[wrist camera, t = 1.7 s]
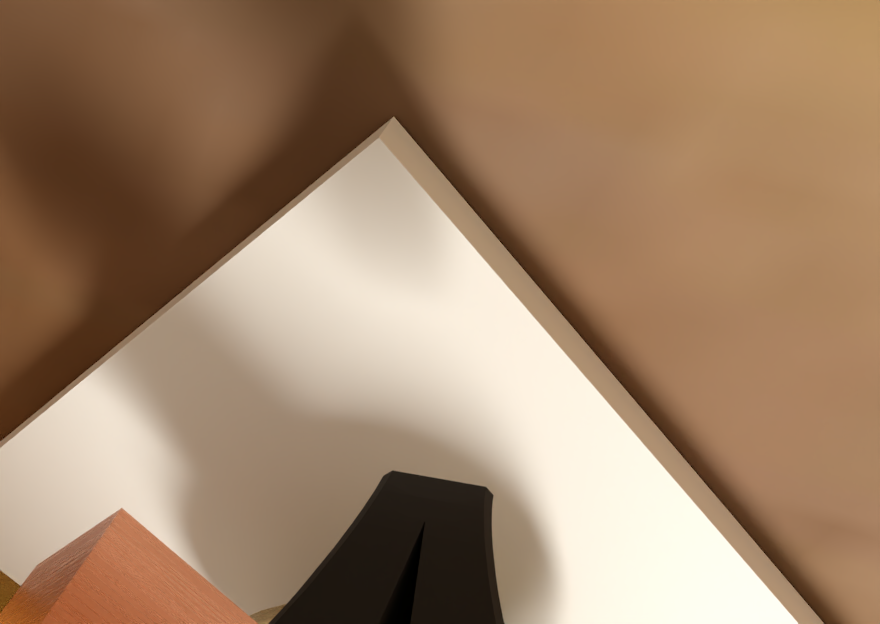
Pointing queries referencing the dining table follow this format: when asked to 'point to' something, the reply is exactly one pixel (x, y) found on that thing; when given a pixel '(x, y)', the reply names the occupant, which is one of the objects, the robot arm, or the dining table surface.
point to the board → (382, 420)
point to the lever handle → (121, 584)
